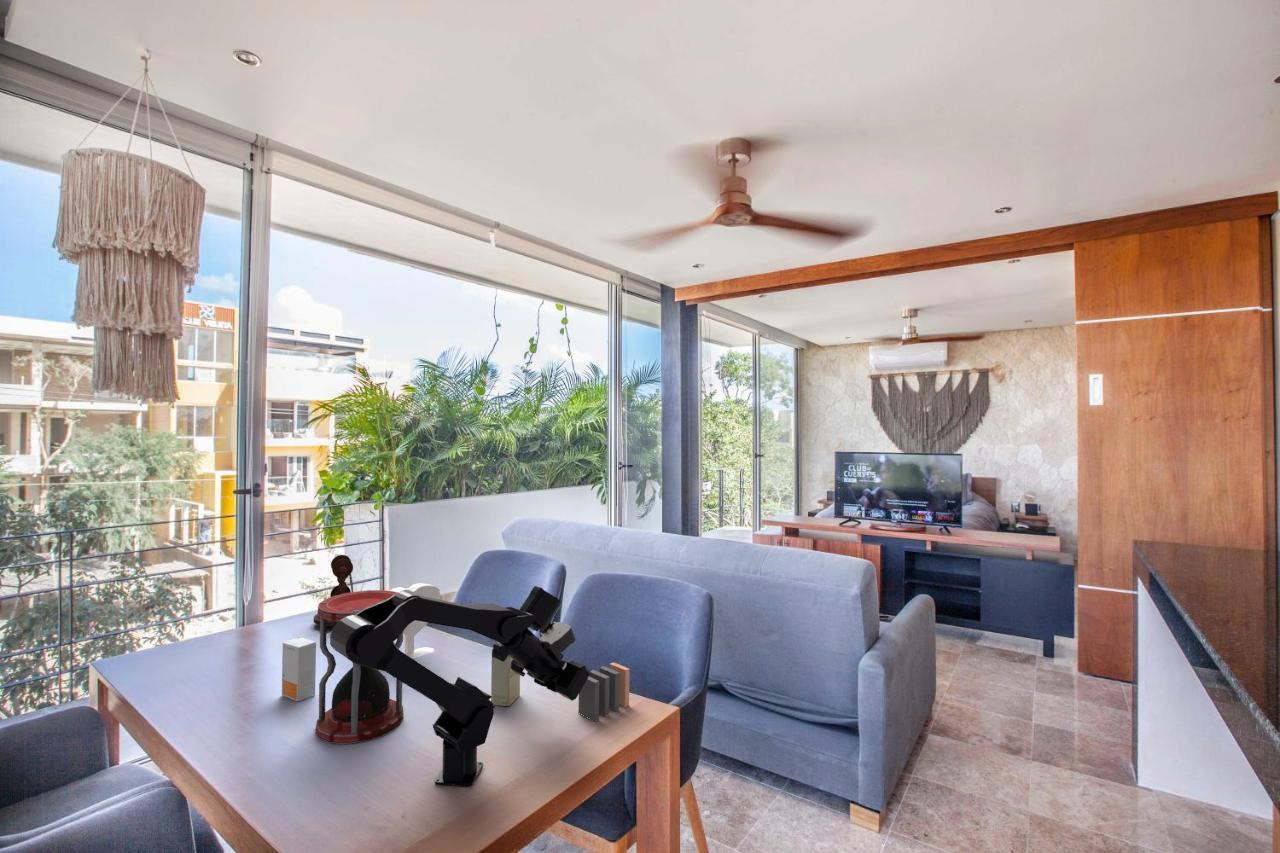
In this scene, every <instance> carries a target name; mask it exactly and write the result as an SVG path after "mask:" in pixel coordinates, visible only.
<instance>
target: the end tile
mask: <svg viewBox="0 0 1280 853" xmlns="http://www.w3.org/2000/svg"><path fill="white" fill-rule="evenodd" d="M609 669H612V670H614V671H617V672H619V673H620V675H619V706H622V707H624V708H626V707H628V706H630V670H631V669H630V668H629V667H626V666H624V665H621V664H618V663H616V662H611V663H609Z"/></svg>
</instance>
